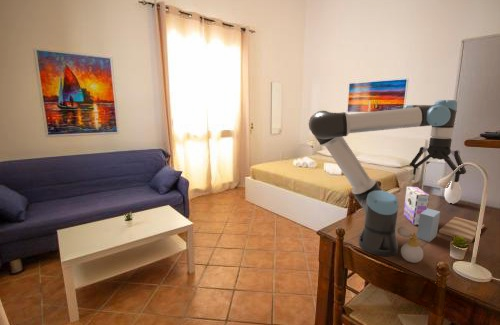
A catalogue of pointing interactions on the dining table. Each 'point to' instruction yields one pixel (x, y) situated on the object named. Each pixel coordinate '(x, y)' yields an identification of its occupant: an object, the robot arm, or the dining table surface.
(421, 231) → the slate block
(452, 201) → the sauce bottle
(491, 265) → the dining table surface
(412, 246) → the perfume bottle
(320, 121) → the robot arm
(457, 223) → the striped wooden board
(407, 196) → the candy box
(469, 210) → the dining table surface
